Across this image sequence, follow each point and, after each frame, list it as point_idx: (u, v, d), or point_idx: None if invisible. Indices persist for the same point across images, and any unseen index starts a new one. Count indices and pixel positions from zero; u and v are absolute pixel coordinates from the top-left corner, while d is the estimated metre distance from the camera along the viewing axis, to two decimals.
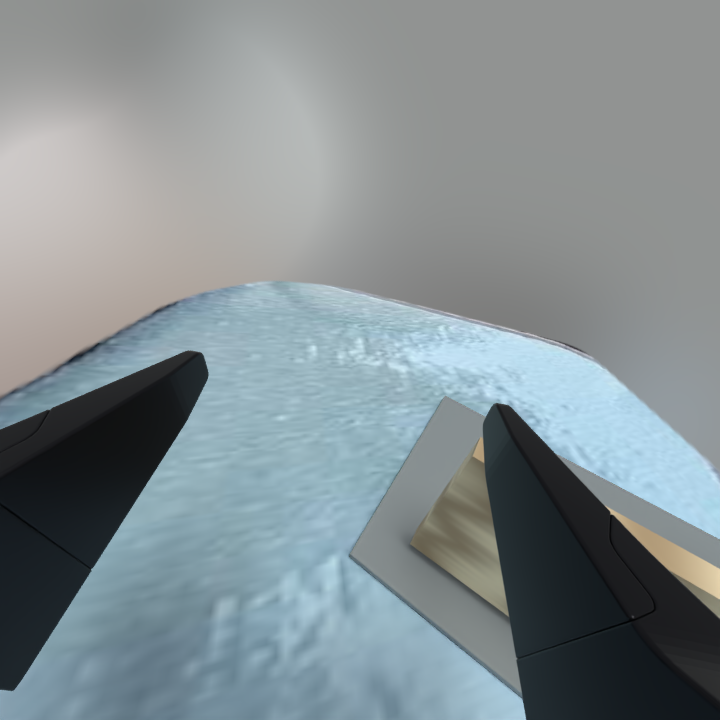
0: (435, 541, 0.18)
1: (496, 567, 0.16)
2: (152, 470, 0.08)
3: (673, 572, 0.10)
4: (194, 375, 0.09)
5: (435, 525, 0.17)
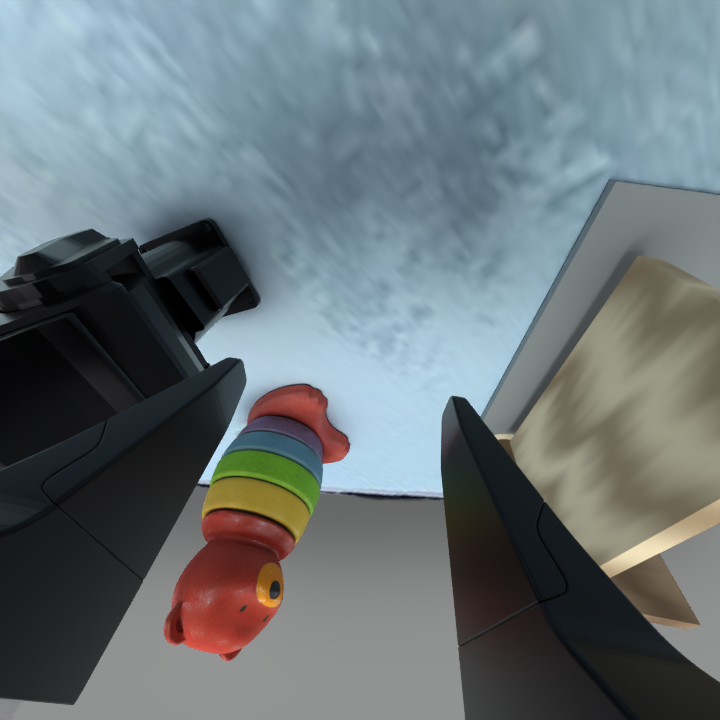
0: (652, 293, 0.15)
1: (631, 359, 0.15)
2: (197, 479, 0.08)
3: (676, 522, 0.12)
4: (235, 382, 0.09)
5: (684, 297, 0.13)
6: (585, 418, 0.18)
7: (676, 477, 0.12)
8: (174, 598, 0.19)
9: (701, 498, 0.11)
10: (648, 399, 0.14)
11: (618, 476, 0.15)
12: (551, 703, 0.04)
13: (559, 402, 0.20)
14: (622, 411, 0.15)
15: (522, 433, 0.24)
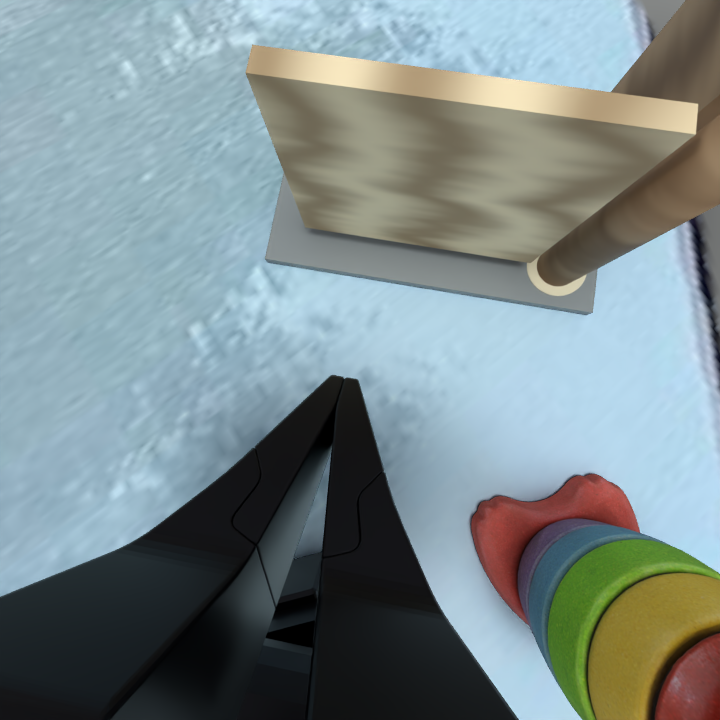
0: (313, 210, 0.20)
1: (356, 201, 0.18)
2: (312, 501, 0.08)
3: (431, 98, 0.11)
4: None
5: (299, 192, 0.18)
6: (428, 209, 0.17)
7: (396, 125, 0.12)
8: None
9: (391, 100, 0.11)
10: (367, 177, 0.16)
11: (446, 160, 0.14)
12: None
13: (438, 234, 0.20)
14: (393, 187, 0.16)
15: (505, 254, 0.21)
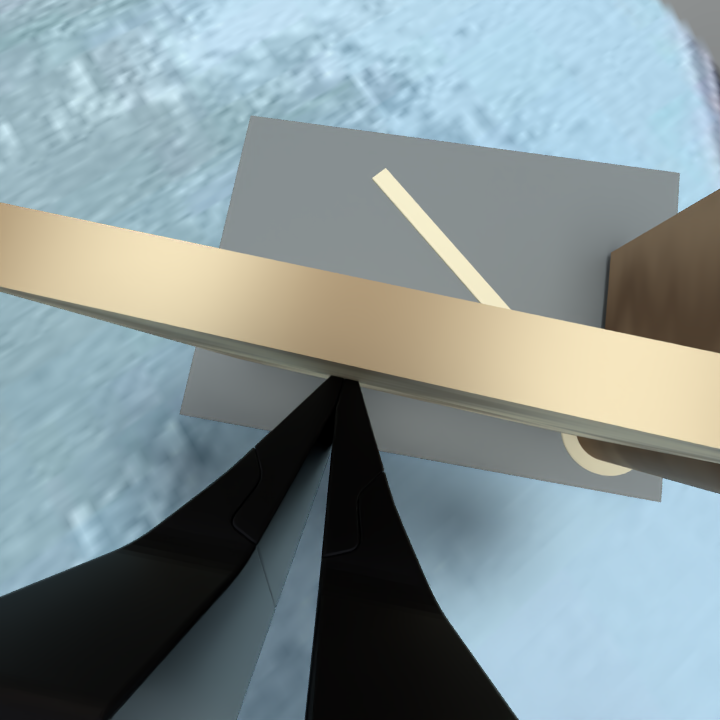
0: None
1: (293, 368, 0.11)
2: (312, 501, 0.08)
3: (396, 373, 0.04)
4: None
5: (202, 348, 0.11)
6: (411, 395, 0.10)
7: (323, 365, 0.05)
8: None
9: (292, 353, 0.04)
10: (298, 367, 0.09)
11: (440, 396, 0.07)
12: None
13: (430, 401, 0.13)
14: None
15: (532, 425, 0.14)
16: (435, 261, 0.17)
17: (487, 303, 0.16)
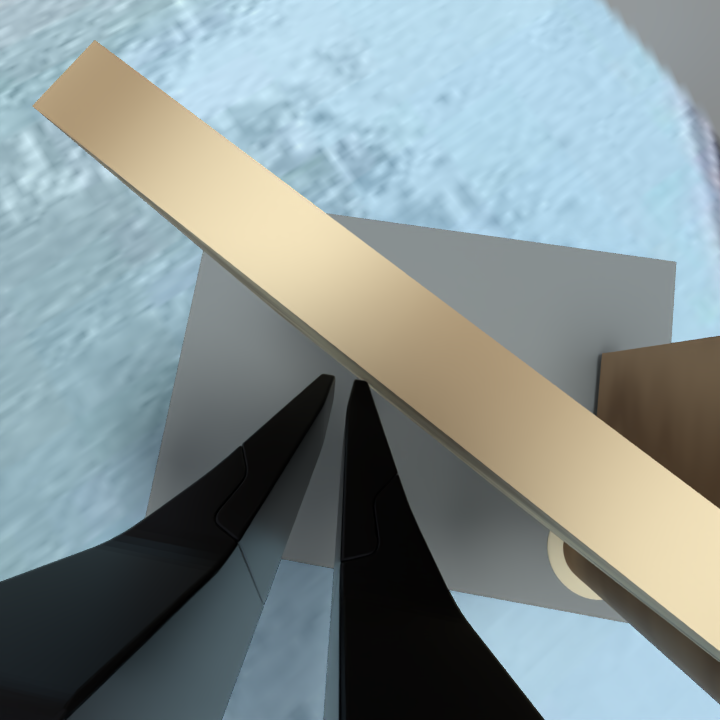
0: (280, 315, 0.12)
1: (331, 354, 0.10)
2: (302, 499, 0.08)
3: (476, 455, 0.03)
4: (330, 399, 0.09)
5: None
6: (433, 435, 0.10)
7: (384, 390, 0.05)
8: None
9: (370, 375, 0.04)
10: None
11: (476, 466, 0.06)
12: (333, 656, 0.04)
13: None
14: (382, 393, 0.08)
15: None
16: None
17: None
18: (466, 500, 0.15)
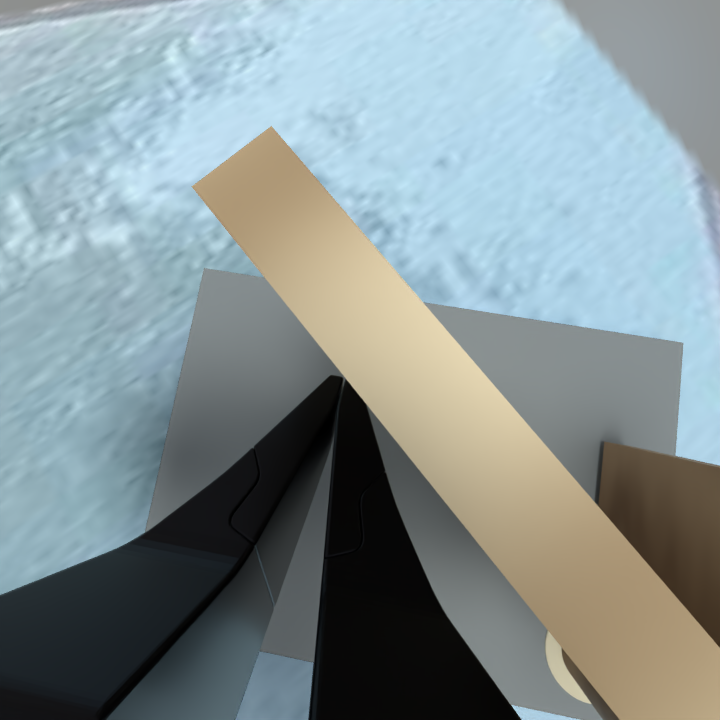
0: None
1: None
2: (311, 501, 0.08)
3: (614, 708, 0.03)
4: (339, 400, 0.09)
5: None
6: None
7: None
8: None
9: None
10: None
11: None
12: None
13: None
14: None
15: None
16: None
17: None
18: (460, 594, 0.14)
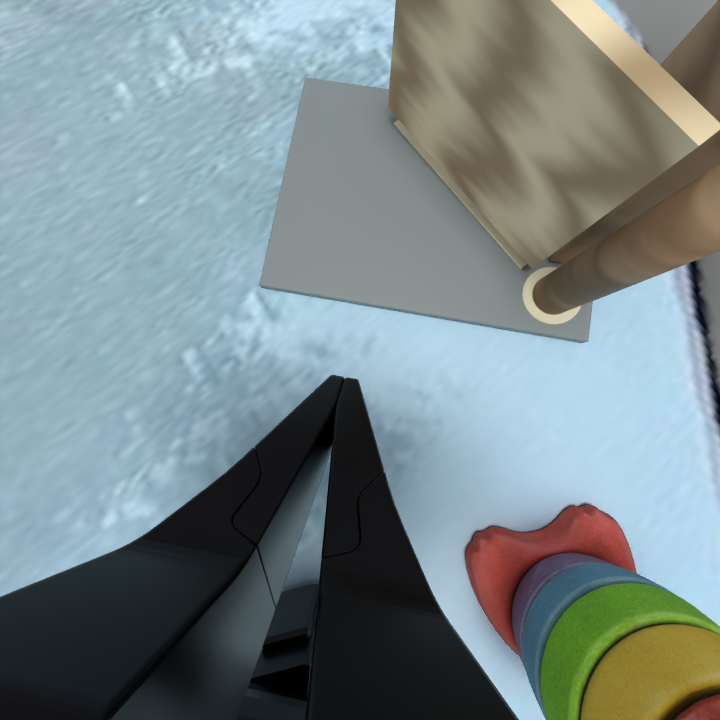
0: (400, 85, 0.20)
1: (432, 91, 0.19)
2: (312, 501, 0.08)
3: None
4: None
5: (397, 52, 0.19)
6: (479, 136, 0.18)
7: None
8: None
9: None
10: (449, 60, 0.16)
11: (510, 71, 0.14)
12: None
13: (477, 179, 0.20)
14: (463, 87, 0.17)
15: (517, 242, 0.21)
16: (438, 181, 0.23)
17: (474, 210, 0.23)
18: (470, 266, 0.23)
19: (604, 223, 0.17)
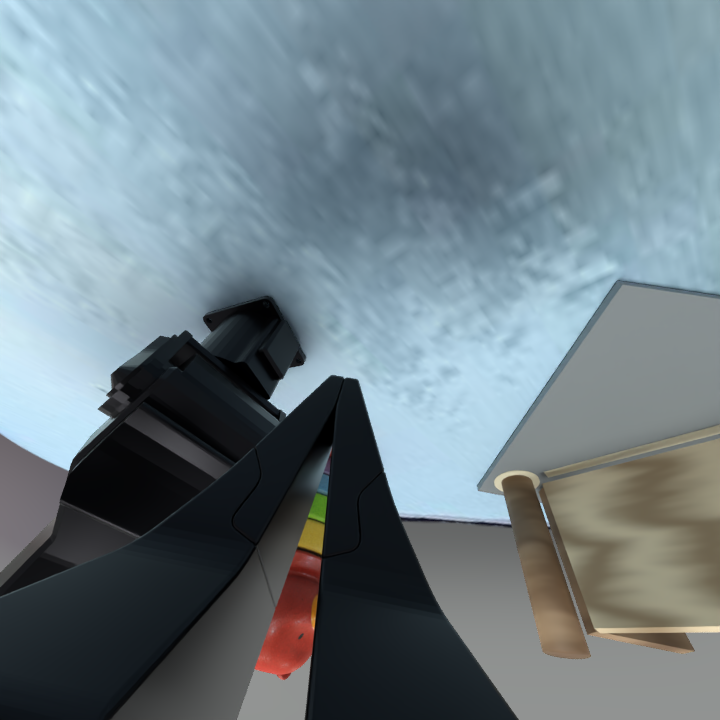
0: None
1: None
2: (312, 501, 0.08)
3: None
4: None
5: None
6: (678, 509, 0.22)
7: None
8: None
9: None
10: None
11: (717, 568, 0.19)
12: None
13: (639, 482, 0.24)
14: None
15: (568, 484, 0.28)
16: (657, 438, 0.25)
17: (611, 456, 0.27)
18: (558, 449, 0.28)
19: None
